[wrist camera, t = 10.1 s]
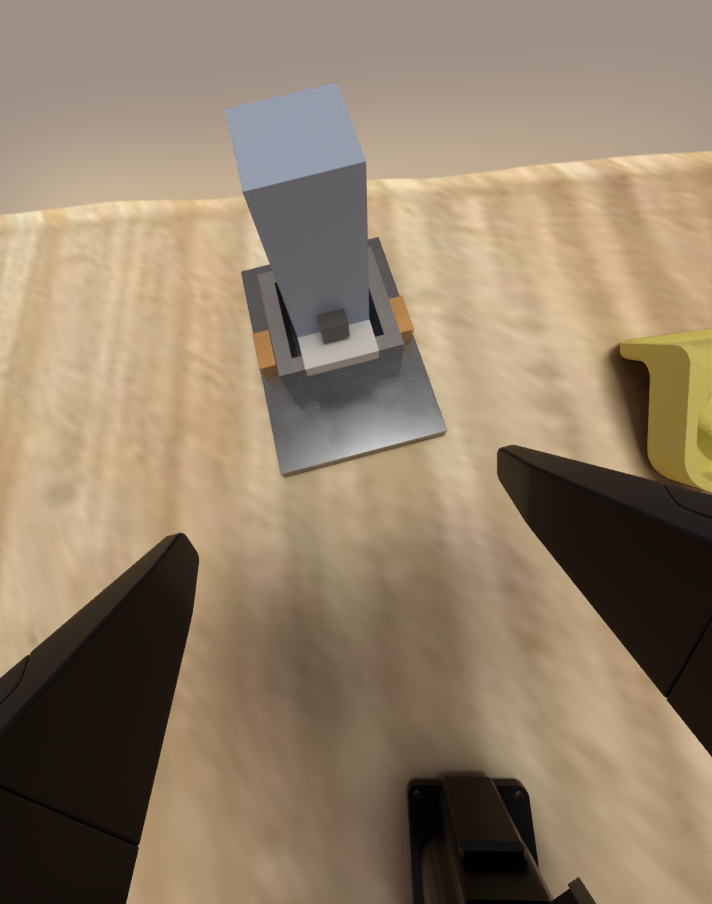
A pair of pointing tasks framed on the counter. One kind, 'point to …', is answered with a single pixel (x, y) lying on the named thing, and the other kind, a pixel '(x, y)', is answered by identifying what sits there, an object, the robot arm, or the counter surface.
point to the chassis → (342, 380)
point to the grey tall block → (310, 217)
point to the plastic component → (678, 403)
